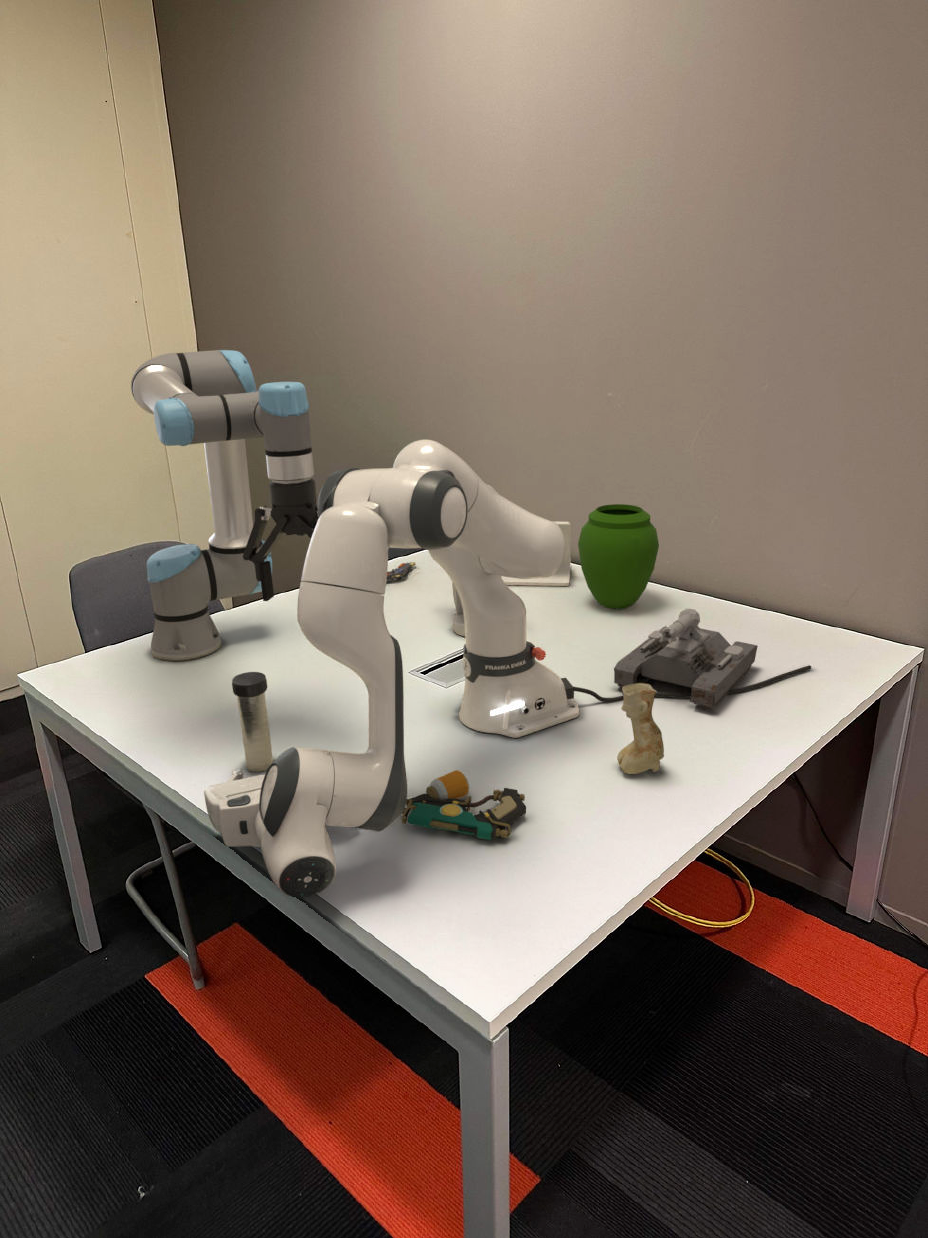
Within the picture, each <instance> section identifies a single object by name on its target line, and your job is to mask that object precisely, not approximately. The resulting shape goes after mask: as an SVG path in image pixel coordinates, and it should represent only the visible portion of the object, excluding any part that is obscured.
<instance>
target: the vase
mask: <svg viewBox="0 0 928 1238" xmlns="http://www.w3.org/2000/svg"><path fill="white" fill-rule="evenodd" d="M587 516H588V517H587V518H588V521H587V522H586V523H585V524H584V525H583V526H582V527H581V529H580V534H579V538H578V541H577V546H578V554H579V562H580V569H581V571H582V574H583V577H584V580H585V583H586V585H587V588H588V590H589V591H590V594H592V597H593V598H594V600H595V601H596V602H597V603H598V604H599V605H600V606H602V607H604V608H606V609H609V610H625V609H628V608H630V607H632V606H634V604H636V602H638V601H639V599H640V597H641V596H642V595H643V593H644V592H645V590H646V588H647V586H648V584H649V581H650V579H651V577H652V574H653V572H654V570H655V566H656V562H657V557H658V552H659V548H660V544H659V543H660V542H659V537H658V531H657V528H656V527H655V526H654V524H653V523H652V522H651V515H650V514H649V512H647V511H645V510H644V509H643V508H642V507H641V506H638V505H633V504H622V503H621V504H619V503H616V504H615V503H614V504H604V505H601V506H598V507H597V508H595V509H594V510H592V511H591V512H590V513H589V514H588V515H587Z"/></svg>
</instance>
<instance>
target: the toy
mask: <svg viewBox="0 0 928 1238" xmlns="http://www.w3.org/2000/svg"><path fill="white" fill-rule="evenodd" d="M700 623H701V616H700V613H699V612H698V611H697V610H696V609H694V608H688V607H687V608H684V609H683V610H682V611H680V612H679V615H678V618H677V619H676V620H675V621H674V622H673V623H672V624H670V625H669V626H668V625H665V626H663V627H661V628H660V629H658V630H654V631H652V632H651V633H650V634H649V635H648V638H647V639H646V640H645V641H643V642H642V643H641V644H639V645H638V646H637V647H635V648H634V649H633V650H632V651H630V652H629V653H628V654H626V655H625V656H624V657H622V658H621V659H620V660H619V661H617V663H616V664H615V666H614V667H613V684H617V686H618V687H619V688H622V687H623V686H626V685H630V684H637V683H645V684H647V682H648V681H649V680H650V679H652V680H655V681H660V682H664V683H668V684H671V685H672V684H673V685H677V686H680V687H685V688H689V689H691V692H690V693H691V697H690V703H693V704H695V705H699V706H702V707H707V708H710V709H715V707H716V706H718V704H719V703H721V701H722V700H724V698H725V697H726V696H727V695H729V694H728V691H729V690H731V689H734V688H735V686H736V685H737V684H738V683H739V682H740V681H742V679H743V678H744V677H745V676H746V675H747V674H748V673H749V671H750V670H751V668H752V665H753V664H754V663H755V661H756V656H757V651H758V645H757V644H752V643H748V642H743V641H734V643H732V644H731V643H730V642H728V640H727V639H726V637H724V636H723V634H721V633H720V632H719V631H716V630H710V629H706V628H700V626H699V624H700Z"/></svg>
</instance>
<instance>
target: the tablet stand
mask: <svg viewBox="0 0 928 1238" xmlns="http://www.w3.org/2000/svg"><path fill="white" fill-rule="evenodd" d="M554 522H555V523H557V524H558V526H559V527H560V528H561V530H562V532H563V535H564V537H565V542H566V552H565V557H564V560H563V562H562V564H561V566H560V567H559V569H558V570H557V571H556V572H555V573H554V574H553V575H552V576H550V577H548V578H537V579H518V578H511V577H504V576H501V578H502V580H503V581H504V583H505V584H506V586H541V587H542V586H543V587H544V586H545V587H546V586H547V587H549V586H551V587H556V586H557V587H569V586H570V580H571V579H570V578H571V565H572V564H571V560H572V558H571V522H569V521H554Z"/></svg>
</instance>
